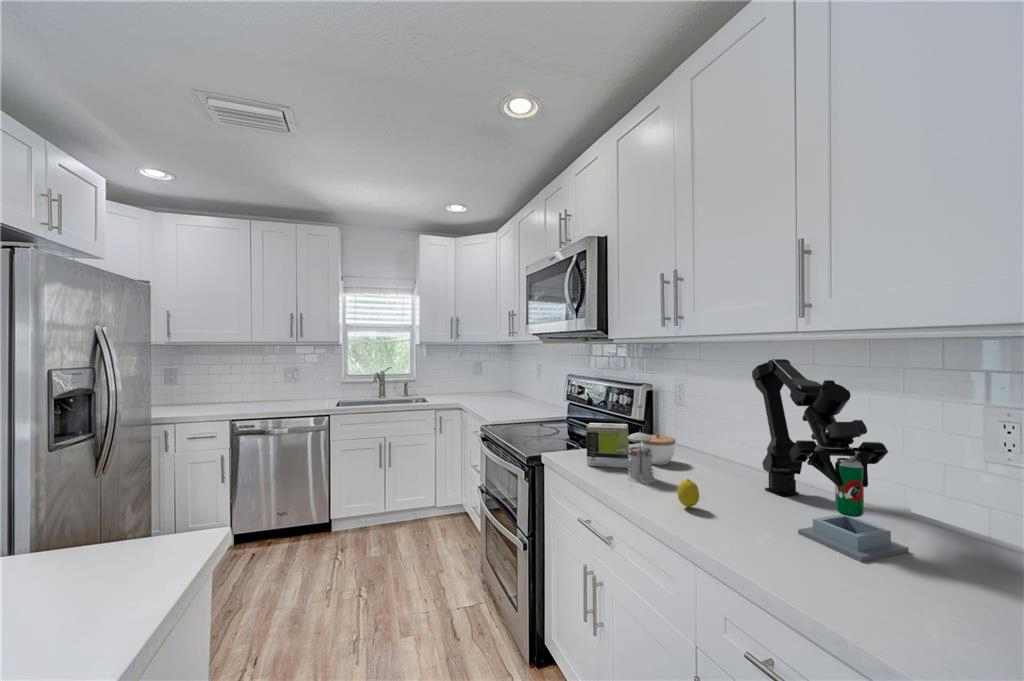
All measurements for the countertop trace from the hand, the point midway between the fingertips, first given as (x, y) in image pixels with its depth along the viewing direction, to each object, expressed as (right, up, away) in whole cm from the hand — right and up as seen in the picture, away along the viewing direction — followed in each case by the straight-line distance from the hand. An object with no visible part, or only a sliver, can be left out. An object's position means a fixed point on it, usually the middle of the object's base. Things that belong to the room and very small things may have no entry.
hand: (852, 485), depth 96 cm
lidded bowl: (-20, -14, +68) cm, 72 cm away
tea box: (-40, -14, +66) cm, 79 cm away
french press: (-33, -14, +47) cm, 60 cm away
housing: (0, -13, +1) cm, 13 cm away
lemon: (-28, -14, +22) cm, 38 cm away
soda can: (0, -7, +1) cm, 7 cm away
